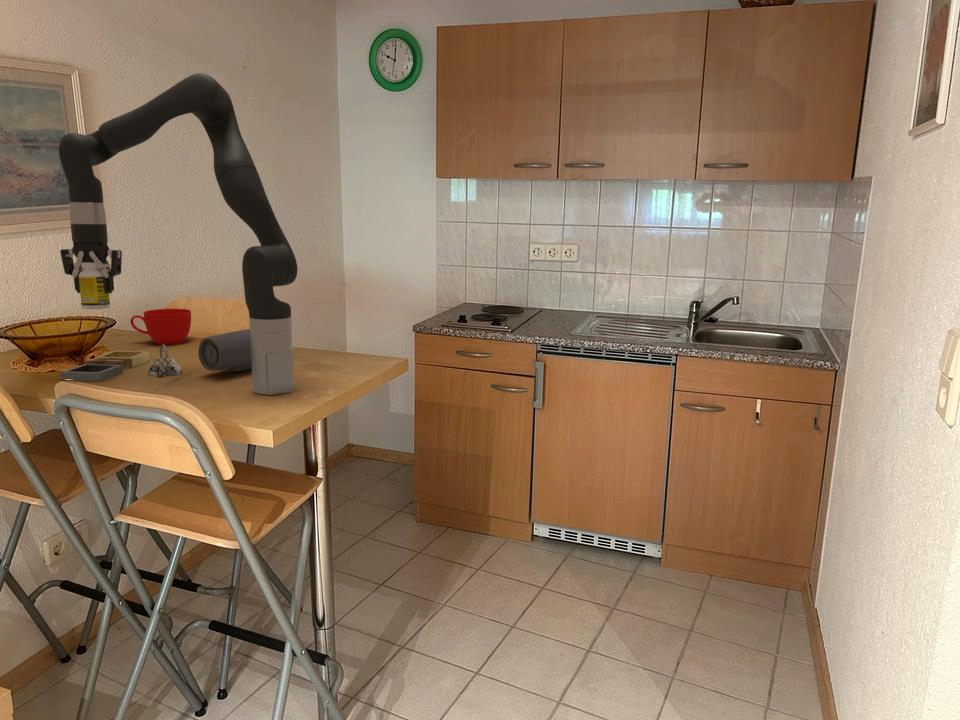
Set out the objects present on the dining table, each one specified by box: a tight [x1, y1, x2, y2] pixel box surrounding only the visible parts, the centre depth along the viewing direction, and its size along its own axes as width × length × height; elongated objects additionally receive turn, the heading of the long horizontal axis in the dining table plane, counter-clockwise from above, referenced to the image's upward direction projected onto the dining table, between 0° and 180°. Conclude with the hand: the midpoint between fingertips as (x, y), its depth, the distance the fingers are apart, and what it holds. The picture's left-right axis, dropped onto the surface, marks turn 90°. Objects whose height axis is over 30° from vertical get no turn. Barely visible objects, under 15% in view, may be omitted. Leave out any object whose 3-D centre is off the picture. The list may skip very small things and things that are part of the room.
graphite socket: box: [60, 363, 124, 383], centre depth 172 cm, size 10×10×2 cm
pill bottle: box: [79, 262, 111, 310], centre depth 173 cm, size 6×6×11 cm
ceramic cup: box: [129, 308, 192, 346], centre depth 214 cm, size 13×17×10 cm
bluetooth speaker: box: [197, 328, 252, 373], centre depth 184 cm, size 23×9×10 cm, turn 148°
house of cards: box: [147, 345, 183, 378], centre depth 174 cm, size 9×9×8 cm
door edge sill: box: [83, 359, 125, 371], centre depth 180 cm, size 9×1×2 cm, turn 90°
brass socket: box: [93, 350, 150, 369], centre depth 187 cm, size 10×10×2 cm
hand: (94, 292), depth 173 cm, fingers closed on pill bottle, 6 cm apart
